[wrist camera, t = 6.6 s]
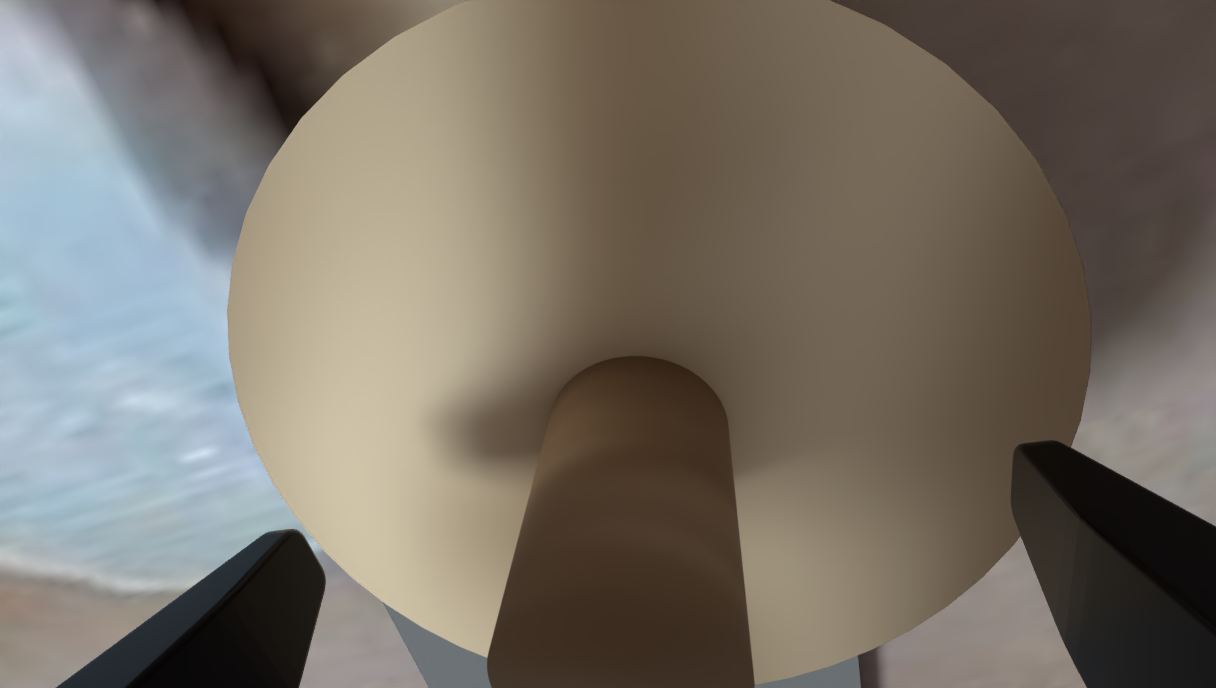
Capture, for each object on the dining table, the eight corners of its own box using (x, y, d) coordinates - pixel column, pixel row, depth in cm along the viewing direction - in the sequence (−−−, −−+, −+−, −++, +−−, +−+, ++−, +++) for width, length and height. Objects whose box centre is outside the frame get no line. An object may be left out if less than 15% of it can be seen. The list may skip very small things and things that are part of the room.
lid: (1104, -170, 7) (1684, -305, 3) (1037, 627, 13) (1207, 959, 9) (97, 92, 9) (-359, 222, 5) (418, 675, 15) (320, 958, 11)
